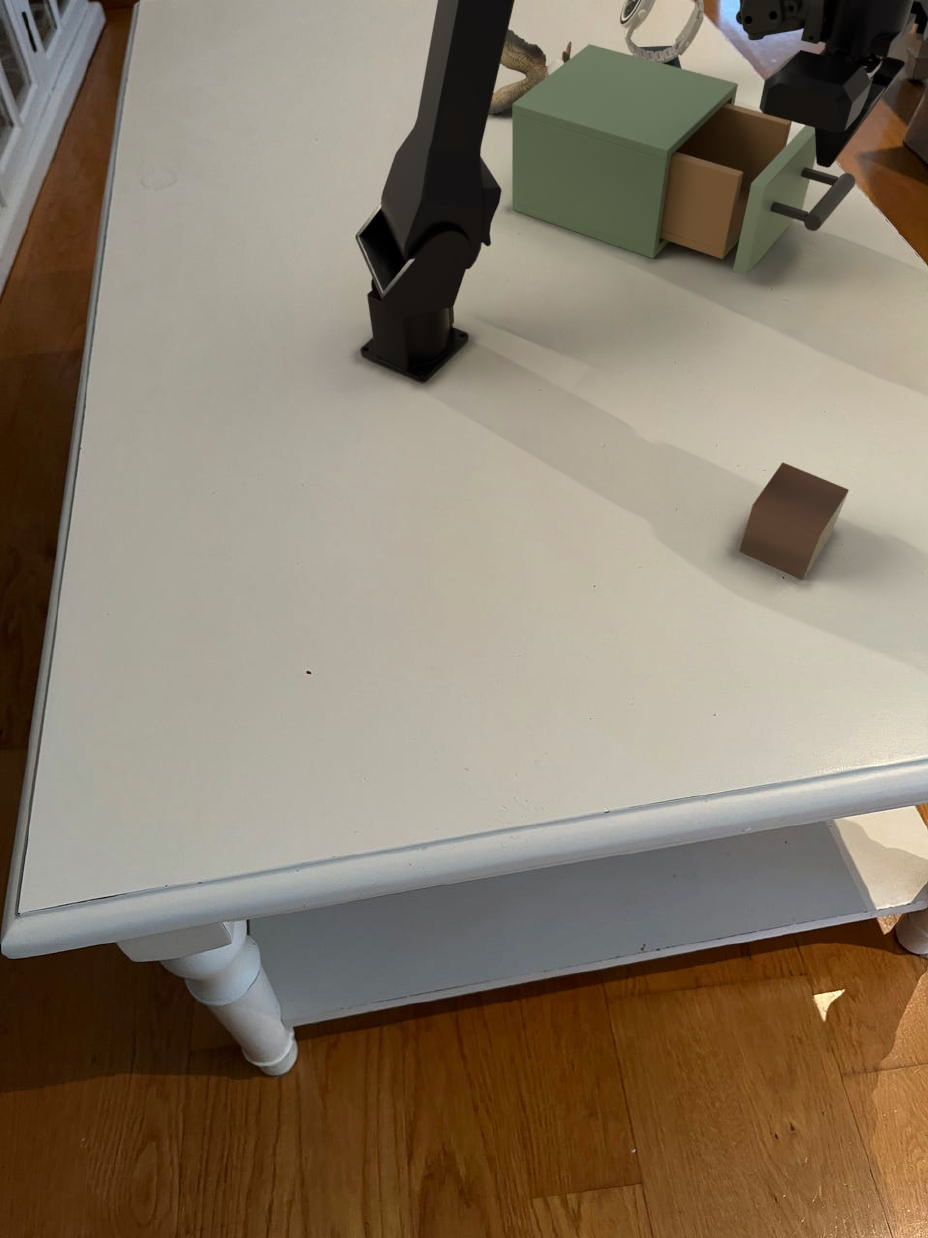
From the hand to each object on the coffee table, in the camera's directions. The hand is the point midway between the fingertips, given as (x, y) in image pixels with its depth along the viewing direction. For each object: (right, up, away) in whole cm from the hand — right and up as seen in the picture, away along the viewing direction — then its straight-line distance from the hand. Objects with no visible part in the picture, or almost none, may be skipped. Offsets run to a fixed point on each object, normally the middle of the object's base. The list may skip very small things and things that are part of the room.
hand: (824, 164), depth 76 cm
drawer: (-5, -1, +9) cm, 10 cm away
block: (-7, -31, -12) cm, 34 cm away
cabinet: (-14, +3, +13) cm, 20 cm away
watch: (-9, +19, +25) cm, 33 cm away
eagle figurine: (-22, +18, +25) cm, 38 cm away
